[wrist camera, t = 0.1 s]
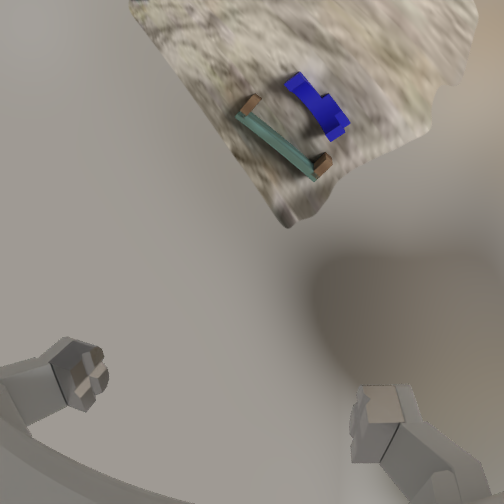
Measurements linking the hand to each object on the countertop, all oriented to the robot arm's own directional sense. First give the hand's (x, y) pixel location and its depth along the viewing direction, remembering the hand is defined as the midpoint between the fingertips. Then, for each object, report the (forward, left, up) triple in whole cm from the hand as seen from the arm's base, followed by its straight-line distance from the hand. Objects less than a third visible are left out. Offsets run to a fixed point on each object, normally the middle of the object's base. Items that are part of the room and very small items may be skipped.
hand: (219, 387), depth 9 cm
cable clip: (-2, +3, -52) cm, 53 cm away
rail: (+6, +3, -52) cm, 52 cm away
